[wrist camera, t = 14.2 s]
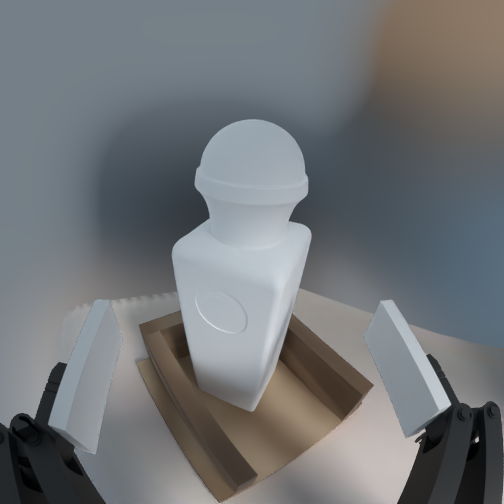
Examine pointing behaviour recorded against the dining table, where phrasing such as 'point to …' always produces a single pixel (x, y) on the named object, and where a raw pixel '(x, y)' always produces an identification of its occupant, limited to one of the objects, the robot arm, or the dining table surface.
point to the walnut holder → (242, 421)
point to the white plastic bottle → (243, 260)
